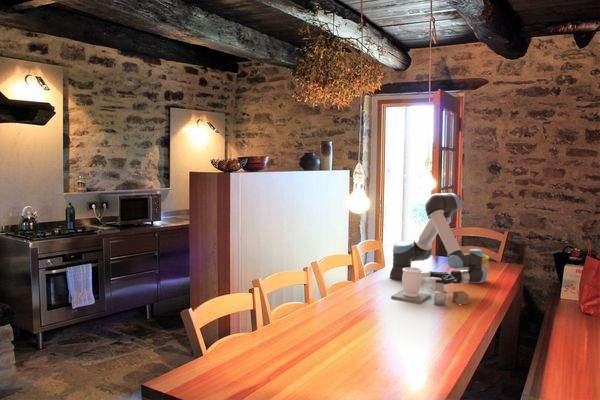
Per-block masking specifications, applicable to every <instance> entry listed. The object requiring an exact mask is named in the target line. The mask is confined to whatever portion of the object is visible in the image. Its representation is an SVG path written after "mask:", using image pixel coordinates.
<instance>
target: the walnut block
mask: <svg viewBox="0 0 600 400" xmlns="http://www.w3.org/2000/svg"><path fill="white" fill-rule="evenodd" d="M469 296H470V295H469V293H467V292H465V291H464V290H461V291H460V290H459V291H452V303H453V302H454V303H453V304H455V303H456V304H458V305H457V306H460V305H459V304H468V305H469ZM456 304H455V305H456Z"/></svg>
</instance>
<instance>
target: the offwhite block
mask: <svg viewBox="0 0 600 400" xmlns="http://www.w3.org/2000/svg"><path fill="white" fill-rule="evenodd" d="M429 288H430V289H431V290H432V291H433V292H435V291H436V290H441V291H445V284H442V283H438V284H430V287H429Z"/></svg>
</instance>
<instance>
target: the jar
mask: <svg viewBox="0 0 600 400" xmlns="http://www.w3.org/2000/svg"><path fill="white" fill-rule="evenodd" d="M422 270H423V269H421V268H419V267H412V266H411V267H407V268H403V275H402V281H401V282H402V284H401V285H402V290H404V295H405V296H408V297H417V296H419V294H418V292H419V293H420V290H421V284H422V278H421V273H423V272H422Z"/></svg>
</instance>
